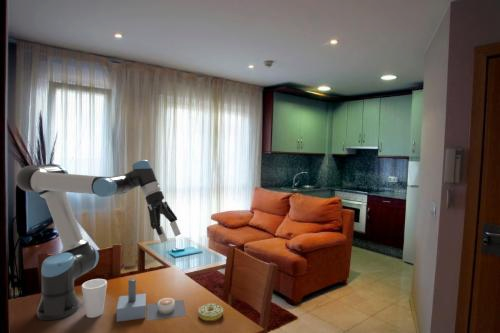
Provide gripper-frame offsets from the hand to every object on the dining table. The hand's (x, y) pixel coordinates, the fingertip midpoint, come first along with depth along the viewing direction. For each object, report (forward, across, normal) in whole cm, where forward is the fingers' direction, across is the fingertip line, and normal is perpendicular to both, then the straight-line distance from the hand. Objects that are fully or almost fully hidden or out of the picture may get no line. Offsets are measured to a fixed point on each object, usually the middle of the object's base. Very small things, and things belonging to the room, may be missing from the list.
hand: (171, 238), depth 134 cm
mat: (+28, +1, +16) cm, 32 cm away
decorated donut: (+37, +1, -2) cm, 37 cm away
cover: (+22, -5, +27) cm, 35 cm away
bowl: (+27, +1, +16) cm, 31 cm away
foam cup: (+16, -8, +41) cm, 45 cm away
